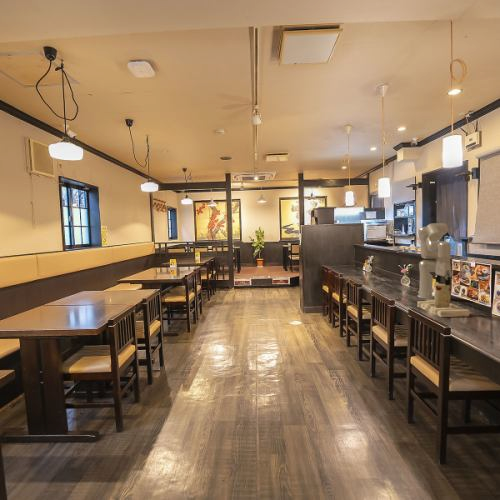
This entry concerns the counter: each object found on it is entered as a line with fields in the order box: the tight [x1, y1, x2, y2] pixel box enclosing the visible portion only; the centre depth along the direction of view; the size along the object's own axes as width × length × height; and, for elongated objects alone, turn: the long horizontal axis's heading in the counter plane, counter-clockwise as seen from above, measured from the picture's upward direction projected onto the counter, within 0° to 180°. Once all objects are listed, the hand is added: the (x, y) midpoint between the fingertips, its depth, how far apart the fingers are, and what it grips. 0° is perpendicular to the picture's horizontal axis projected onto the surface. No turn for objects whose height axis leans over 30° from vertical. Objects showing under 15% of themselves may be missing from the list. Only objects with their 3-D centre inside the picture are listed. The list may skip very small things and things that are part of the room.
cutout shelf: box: [416, 300, 470, 318], centre depth 219 cm, size 26×20×4 cm
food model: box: [433, 283, 451, 308], centre depth 218 cm, size 10×7×20 cm
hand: (442, 283), depth 218 cm, fingers open, 9 cm apart
